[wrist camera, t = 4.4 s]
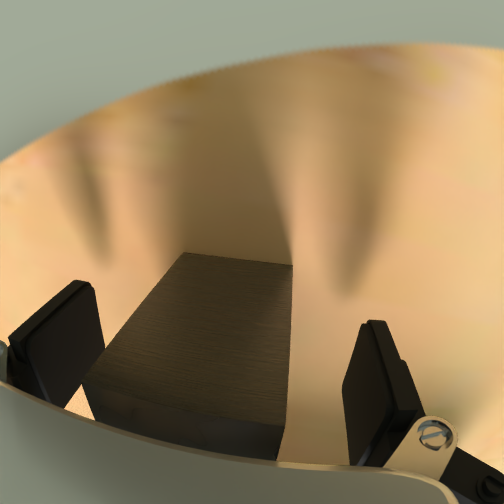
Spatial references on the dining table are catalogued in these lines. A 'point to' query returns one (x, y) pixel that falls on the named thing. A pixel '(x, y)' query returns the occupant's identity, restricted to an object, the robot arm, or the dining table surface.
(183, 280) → the grey long piece
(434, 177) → the dining table surface
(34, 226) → the dining table surface
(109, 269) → the dining table surface
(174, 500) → the robot arm
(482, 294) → the dining table surface
